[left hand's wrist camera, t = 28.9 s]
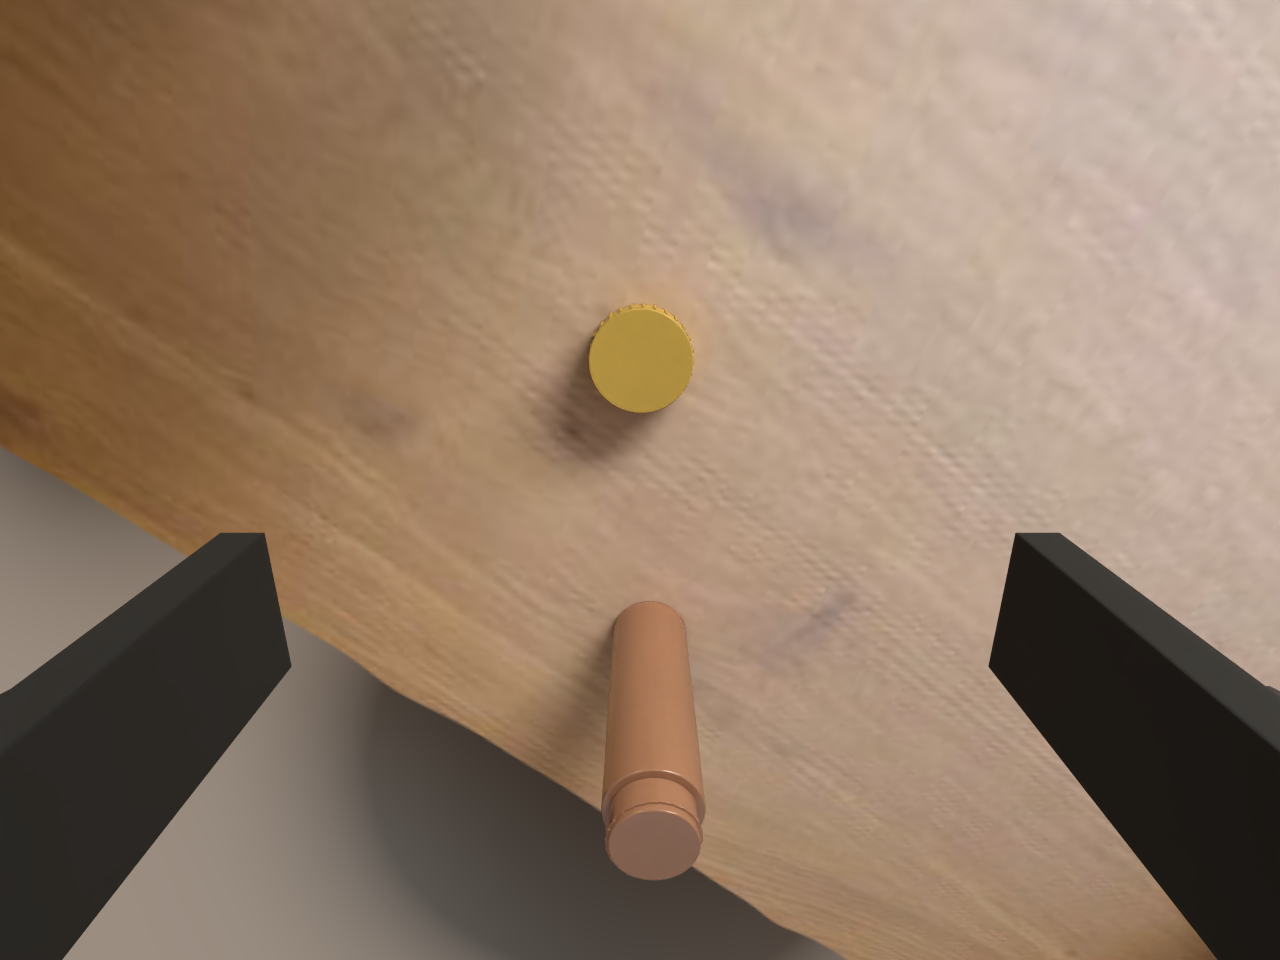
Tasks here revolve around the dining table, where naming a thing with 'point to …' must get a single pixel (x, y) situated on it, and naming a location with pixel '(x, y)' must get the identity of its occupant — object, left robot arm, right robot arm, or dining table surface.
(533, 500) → the dining table surface
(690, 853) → the jar
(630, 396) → the lid
